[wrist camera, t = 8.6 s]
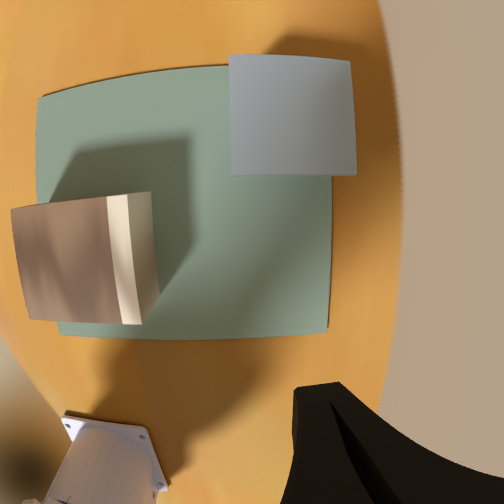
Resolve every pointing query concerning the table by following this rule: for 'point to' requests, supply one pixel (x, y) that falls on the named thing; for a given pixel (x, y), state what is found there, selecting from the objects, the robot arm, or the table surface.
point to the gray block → (291, 116)
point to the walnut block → (88, 259)
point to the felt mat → (192, 206)
